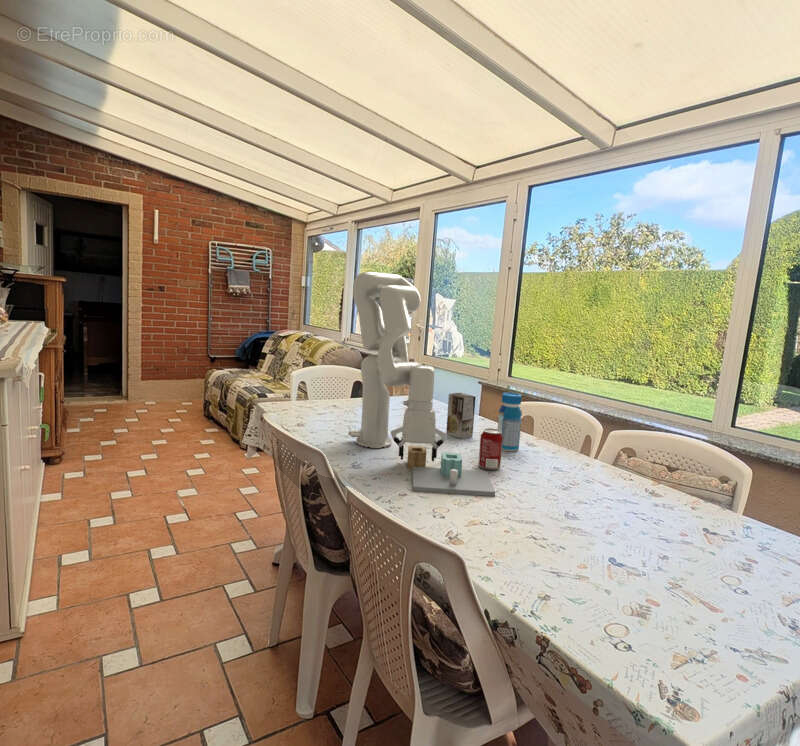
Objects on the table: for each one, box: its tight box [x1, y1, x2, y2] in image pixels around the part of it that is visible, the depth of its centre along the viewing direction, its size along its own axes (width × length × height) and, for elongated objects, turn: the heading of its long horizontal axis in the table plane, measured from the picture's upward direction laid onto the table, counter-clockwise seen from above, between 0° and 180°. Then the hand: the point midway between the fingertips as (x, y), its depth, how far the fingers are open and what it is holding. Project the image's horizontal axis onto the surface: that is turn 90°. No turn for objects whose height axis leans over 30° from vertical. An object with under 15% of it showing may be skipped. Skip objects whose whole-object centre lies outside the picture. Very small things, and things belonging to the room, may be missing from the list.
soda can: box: [477, 427, 503, 471], centre depth 148 cm, size 7×7×12 cm
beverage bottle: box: [496, 392, 523, 452], centre depth 168 cm, size 8×8×20 cm
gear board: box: [412, 451, 496, 497], centre depth 133 cm, size 22×16×6 cm
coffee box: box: [445, 392, 476, 440], centre depth 183 cm, size 9×6×16 cm
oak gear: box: [406, 445, 427, 470], centre depth 147 cm, size 6×7×5 cm
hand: (417, 459), depth 146 cm, fingers open, 9 cm apart
